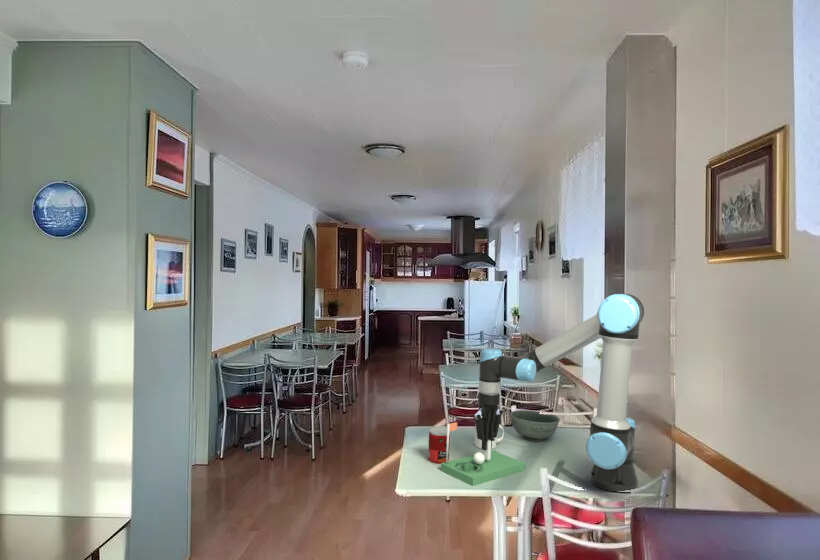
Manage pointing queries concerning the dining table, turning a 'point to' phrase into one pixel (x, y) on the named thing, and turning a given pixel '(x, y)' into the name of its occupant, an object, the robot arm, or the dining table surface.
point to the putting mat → (480, 466)
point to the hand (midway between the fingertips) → (486, 458)
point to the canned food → (438, 445)
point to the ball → (478, 458)
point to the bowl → (534, 424)
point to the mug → (479, 442)
